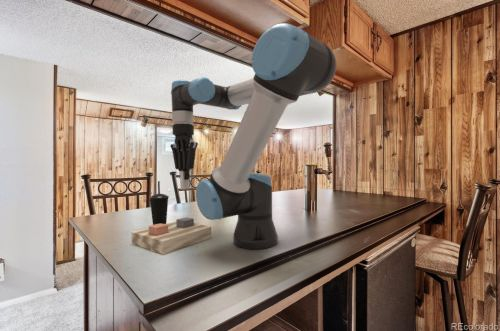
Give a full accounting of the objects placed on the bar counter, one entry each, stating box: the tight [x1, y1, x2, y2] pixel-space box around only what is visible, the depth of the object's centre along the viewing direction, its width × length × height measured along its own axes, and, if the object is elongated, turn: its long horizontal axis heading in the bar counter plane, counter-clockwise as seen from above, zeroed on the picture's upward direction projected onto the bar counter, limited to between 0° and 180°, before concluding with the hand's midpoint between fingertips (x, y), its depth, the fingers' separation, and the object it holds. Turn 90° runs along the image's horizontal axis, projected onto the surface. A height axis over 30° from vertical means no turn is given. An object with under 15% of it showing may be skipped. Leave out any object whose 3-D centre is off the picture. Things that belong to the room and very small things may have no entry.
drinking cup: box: [148, 180, 170, 225], centre depth 102 cm, size 8×8×20 cm
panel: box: [131, 221, 213, 256], centre depth 87 cm, size 18×20×4 cm
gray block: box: [175, 217, 195, 228], centre depth 92 cm, size 4×4×5 cm
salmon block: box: [148, 223, 168, 236], centre depth 83 cm, size 4×4×5 cm
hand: (184, 188), depth 91 cm, fingers closed
